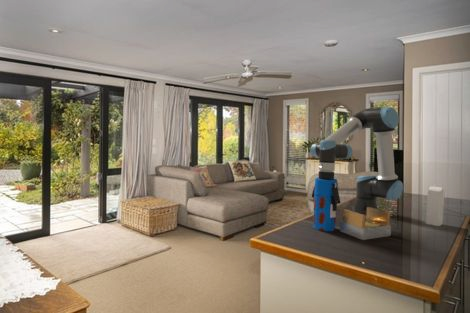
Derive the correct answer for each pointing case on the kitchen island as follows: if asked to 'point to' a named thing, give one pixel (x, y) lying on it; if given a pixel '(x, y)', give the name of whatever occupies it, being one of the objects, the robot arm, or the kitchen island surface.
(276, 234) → the kitchen island surface
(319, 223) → the thermos
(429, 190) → the milk
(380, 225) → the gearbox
